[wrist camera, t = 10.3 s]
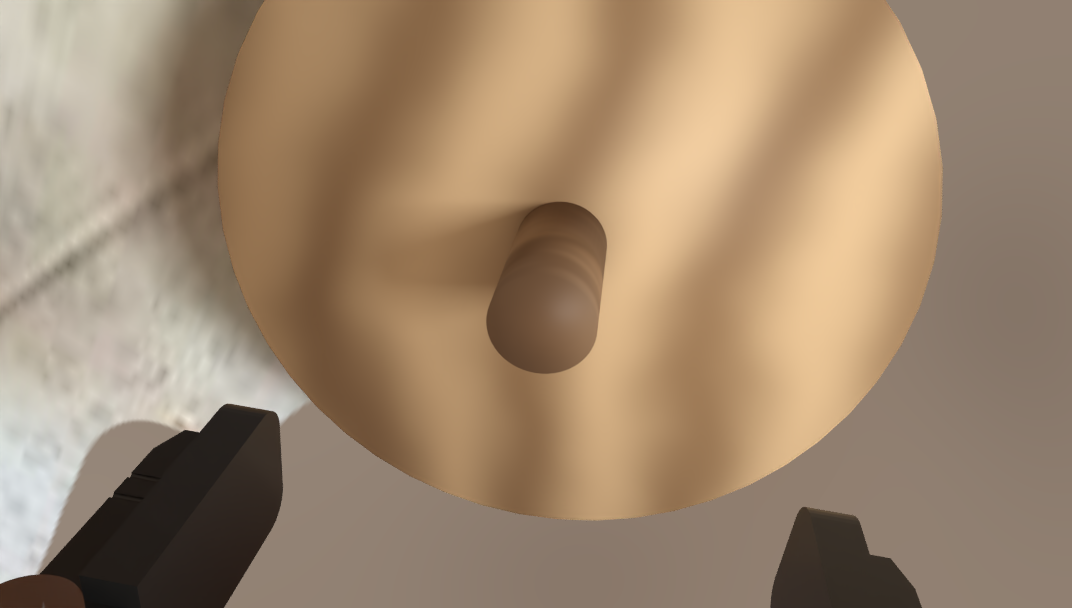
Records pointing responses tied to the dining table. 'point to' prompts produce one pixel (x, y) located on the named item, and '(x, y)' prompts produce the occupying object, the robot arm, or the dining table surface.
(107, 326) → the dining table surface
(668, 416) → the lid
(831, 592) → the robot arm
